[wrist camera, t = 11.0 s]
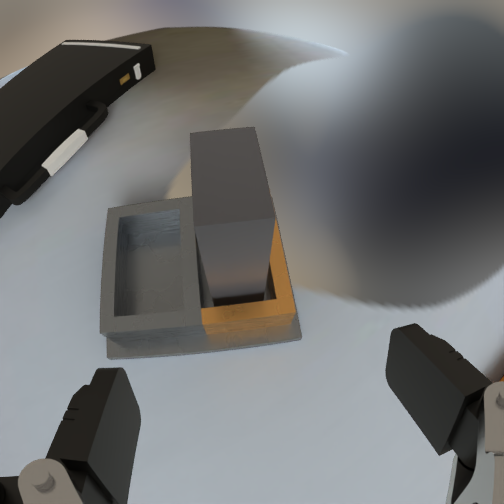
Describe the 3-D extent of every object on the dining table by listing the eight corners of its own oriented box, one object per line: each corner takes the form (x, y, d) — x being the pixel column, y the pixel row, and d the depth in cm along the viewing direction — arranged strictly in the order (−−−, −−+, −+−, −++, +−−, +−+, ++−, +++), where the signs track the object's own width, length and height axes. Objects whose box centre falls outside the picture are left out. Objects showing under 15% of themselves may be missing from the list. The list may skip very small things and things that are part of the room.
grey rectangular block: (263, 301, 26) (275, 217, 16) (214, 307, 26) (193, 226, 16) (251, 229, 30) (254, 126, 19) (207, 234, 29) (190, 133, 19)
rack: (300, 339, 26) (308, 327, 22) (110, 359, 24) (91, 350, 21) (271, 201, 32) (274, 176, 29) (115, 221, 31) (102, 198, 28)
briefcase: (-84, 219, 31) (-31, 312, 25) (-101, 201, 26) (-62, 293, 20) (71, 60, 51) (179, 76, 45) (65, 38, 46) (175, 46, 40)
